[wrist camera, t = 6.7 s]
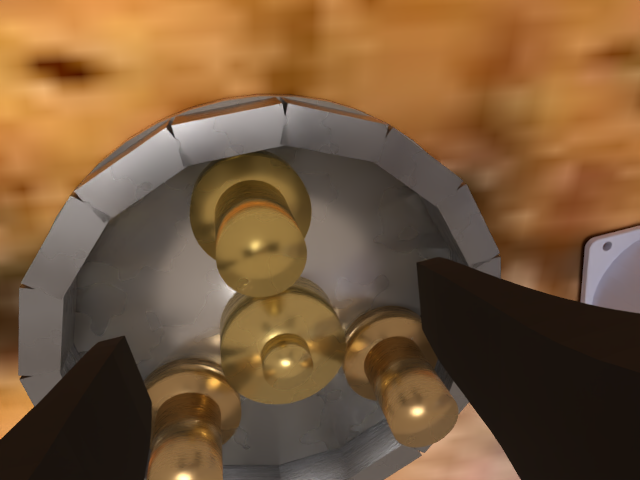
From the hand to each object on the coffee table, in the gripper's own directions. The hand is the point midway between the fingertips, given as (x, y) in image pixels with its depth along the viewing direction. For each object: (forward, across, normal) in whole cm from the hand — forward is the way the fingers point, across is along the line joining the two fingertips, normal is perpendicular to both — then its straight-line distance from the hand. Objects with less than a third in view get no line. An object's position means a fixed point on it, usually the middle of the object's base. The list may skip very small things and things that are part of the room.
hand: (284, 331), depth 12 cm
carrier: (+9, 0, +5) cm, 11 cm away
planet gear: (+9, 0, 0) cm, 9 cm away
